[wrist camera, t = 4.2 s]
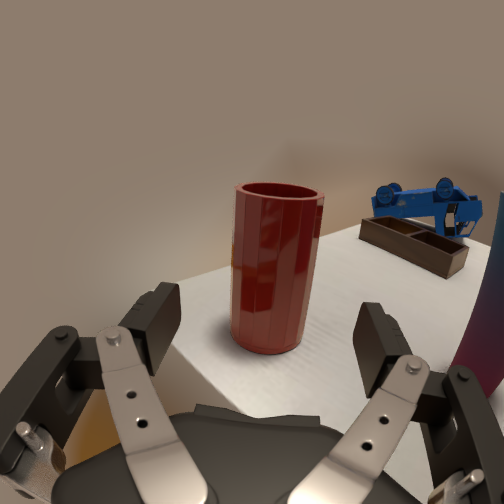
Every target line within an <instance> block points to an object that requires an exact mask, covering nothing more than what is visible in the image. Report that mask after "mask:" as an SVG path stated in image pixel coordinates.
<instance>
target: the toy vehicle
mask: <svg viewBox="0 0 504 504" xmlns="http://www.w3.org/2000/svg"><path fill="white" fill-rule="evenodd" d="M371 199H372V206H373V212H374V217H380V216H388V215H390V216H393V217H396V218H411V217H423V216H424V217H425V216H435V228H436V233H437V234H439V235H442V236H444V237H447V238H453V237H455V238H459V237H469V236H470V234H471V232H472V230H473V229H474V227H475V225H476V223H477V222H478V220H479V219H480V218H481V217H482V215H483V212H482V201H481V200H479V201H478V198H477V195H475V196H467V195H466V194H465V193H464V192H463V191H462V190H461V189H460V188H459V187H458V186H455V187H453V183H452V181H451V180H450V179H448V178H442V179H440V181H439V182H438V184H437V185H436V188H427V189H417V190H408V191H402V188H401V187H400V185H399V184H397V183H391V184H389V185H388V186H381V187H380V188H378V190H377V192H376V196H374V197H372V198H371ZM456 203H457V204H456ZM455 206H456V208H455ZM454 209H455V212H454ZM447 213H454V219H455V221H454V224H455V227H446V225H445V217H446V214H447ZM455 215H456V217H455ZM467 221H469V222H470V221H475V224H474V226H473V228H472V230H471V232H470V234H468V235H467V234H466V235H460V233H461V231H462V230H463V228H464V227H467V226H468V224H469V222H468V224H467V225H465V224H466V222H467ZM456 222H459V224H458V225H456ZM462 222H463V223H462ZM464 222H465V223H464ZM461 224H462V225H461ZM463 224H464V225H463ZM460 229H461V230H460ZM459 231H460V232H459Z"/></svg>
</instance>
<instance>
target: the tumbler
mask: <svg viewBox="0 0 504 504" xmlns="http://www.w3.org/2000/svg"><path fill="white" fill-rule="evenodd" d="M323 204H324V193H322V192H320V191H319V190H317V189H313V188H310V187H306V186H301V185H295V184H290V183H279V182H247V183H241V184H238V185H237V186H235V187H234V207H233V230H232V258H231V291H230V333H231V336H232V338H233V339H234V341H235V342H236V343H237V344H239V345H240V346H241V347H243V348H245V349H247V350H249V351H252V352H255V353H260V354H279V353H284V352H287V351H289V350H291V349H293V348H294V347H296V346H297V345H298V344H299V342H300V341H301V339H302V335H303V331H304V326H305V320H306V315H307V310H308V304H309V298H310V293H311V287H312V281H313V275H314V269H315V262H316V256H317V249H318V242H319V235H320V228H321V220H322V213H323Z"/></svg>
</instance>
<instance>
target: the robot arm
mask: <svg viewBox="0 0 504 504" xmlns="http://www.w3.org/2000/svg"><path fill="white" fill-rule="evenodd" d="M180 322H181V304H180V289H179V285H178V284H175V283H167V282H161V283H160V284H159V285H158V287H157V288H156V289H155V291H154V292H153V291H149V292H147V293H145V294H144V295H142V296H140V298H139V299H138V300H137V301H136V303H135V304H134V305H133V307H132V308H131V309H130V310H129V312H128V313H127V314H126V315H125V317H124V318H123V319H122V321H121V322H120V323H119V324H118V326H111V327H107V328H105V329H103V330H101V331H100V332H99V333H98V334H97V336H96V337H79V335H78V332H77V330H76V329H75V328H74V327H72V326H59V327H56V328H54V329H53V330H51V331H50V332H49V333H48V334H47V336H46V337H45V338H44V339H43V340H42V341H41V343H40V344H39V345H38V346H37V347H36V348H35V350H34V351H33V352H32V353H31V355H30V356H29V357H28V358H27V360H26V361H25V362H24V363H23V365H22V366H21V367H20V368H19V369H18V371H17V372H16V373H15V375H14V376H13V377H12V379H11V380H10V381H9V382H8V384H7V385H6V386H5V388H4V389H3V390H2V392H1V393H0V479H1V480H2V481H3V482H4V483H5V484H7V485H8V486H9V487H11V488H13V489H14V490H15V491H17V492H18V493H19V494H20V495H22V496H23V497H25V498H28V499H35V498H36V499H38V500H40V501H42V502H43V503H45V504H422V503H421V502H420V501H418V500H417V499H416V498H415V497H413V496H412V495H411V494H410V493H409V492H408V491H406V490H405V489H404V488H403V487H402V486H401V485H399V484H398V483H397V482H396V481H395V480H394V479H393V478H391V477H390V476H389V475H388V474H387V473H386V472H385V471H384V470H383V468H384V467H385V465H386V464H387V462H388V460H389V459H390V457H391V455H392V454H393V452H394V450H395V448H396V447H397V445H398V443H399V441H400V439H401V437H402V436H403V434H404V432H405V430H406V428H407V426H408V424H409V422H410V421H414V422H419V423H420V426H421V430H422V434H423V438H424V443H425V447H426V451H427V456H428V461H429V465H430V470H431V476H432V481H433V486H434V490H433V491H432V492H431V494H430V496H429V498H428V504H504V437H503V434H502V432H501V429H500V427H499V424H498V422H497V420H496V417H495V415H494V413H493V410H492V408H491V406H490V404H489V402H488V399H487V397H486V395H485V393H484V391H483V389H482V387H481V385H480V383H479V381H478V379H477V377H476V375H475V373H474V372H473V371H472V370H471V369H469V368H468V367H466V366H463V365H454V366H452V367H450V369H449V370H448V372H447V374H444V373H439V372H434V371H430V367H429V365H428V364H427V362H426V361H425V360H423V359H422V358H420V357H418V356H415V355H413V354H412V351H411V349H410V347H409V345H408V343H407V341H406V339H405V337H403V333H402V331H401V330H400V327H399V325H398V323H397V321H396V320H395V319H394V318H393V317H391V316H390V315H389V314H385V313H384V310H383V308H382V306H381V304H380V303H371V302H363V303H362V305H361V308H360V311H359V315H358V318H357V322H356V325H355V329H354V332H353V346H354V349H355V353H356V357H357V361H358V365H359V369H360V373H361V377H362V381H363V385H364V389H365V394H366V398H367V399H368V398H371V399H370V401H369V402H368V404H367V405H366V406H365V408H364V409H363V411H362V412H361V413H360V415H359V416H358V417H357V419H356V420H355V421H354V423H353V424H352V425H351V427H350V428H349V429H348V431H347V432H346V433H345V434H342V433H340V432H339V431H337V430H335V429H332V428H330V427H327V426H324V425H320V416H303V415H285V416H277V417H269V418H253V417H250V416H247V415H244V414H241V413H238V412H235V411H232V410H229V409H227V408H220V407H213V406H207V405H201V404H196V407H195V410H194V412H185V413H179V414H175V415H172V416H169V417H168V415H167V413H166V411H165V409H164V407H163V405H162V403H161V401H160V398H159V396H158V394H157V392H156V390H155V387H154V385H153V383H152V380H151V378H150V376H155V374H156V372H157V370H158V368H159V366H160V364H161V362H162V360H163V358H164V356H165V354H166V352H167V350H168V348H169V346H170V344H171V342H172V340H173V338H174V336H175V334H176V332H177V330H178V328H179V325H180ZM61 376H62V377H63V378H62V379H61V381H60V382H59V384H58V385H57V387H56V388H55V386H56V383H57V382H58V380H59V379H60V377H61ZM94 389H105V391H106V395H107V398H108V402H109V405H110V409H111V413H112V416H113V419H114V423H115V426H116V429H117V432H118V435H119V438H120V441H121V443H119V444H117V445H115V446H113V447H111V448H109V449H107V450H105V451H103V452H101V453H99V454H98V455H95V456H93V457H91V458H89V459H87V460H85V461H83V462H81V463H79V464H77V465H74V466H72V467H70V468H68V469H67V470H65V464H66V456H65V454H64V452H63V448H64V446H65V444H66V442H67V439H68V438H69V436H70V434H71V432H72V430H73V428H74V426H75V424H76V422H77V420H78V418H79V416H80V414H81V413H82V411H83V409H84V407H85V405H86V403H87V401H88V400H89V398H90V396H91V394H92V392H93V390H94ZM453 417H455V420H456V422H457V430H456V427H455V424H454V421H453Z"/></svg>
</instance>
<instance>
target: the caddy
mask: <svg viewBox="0 0 504 504" xmlns="http://www.w3.org/2000/svg"><path fill="white" fill-rule="evenodd" d="M359 235H360V236H359V238H360V239H362V240H364V241H366V242H369V243H371V244H373V245H375V246H378V247H380V248H382V249H384V250H386V251H389V252H391V253H393V254H395V255H397V256H400V257H402V258H404V259H406V260H408V261H410V262H412V263H414V264H417V265H419V266H421V267H423V268H425V269H427V270H429V271H431V272H433V273H435V274H437V275H439V276H441V277H443V278H445V279H447V278H449V277H450V276H451V275H453V274H454V273H456V272H457V271H458V270H460V269H461V268H462V267H464V264H465V261H466V258H467V254H468V251H469V247H468V246H466V245H463V244H461V243H459V242H456V241H454V240H452V239H449V238H447V237H444V236H442V235H439V234H437V233H435V232H432V231H430V230H427V229H425V228H422V227H419V226H417V225H414V224H412V223H409V222H406V221H404V220H401V219H398V218H396V217H393V216H390V215H388V216H380V217H373V218H366V219H362V223H361V228H360V234H359Z"/></svg>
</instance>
